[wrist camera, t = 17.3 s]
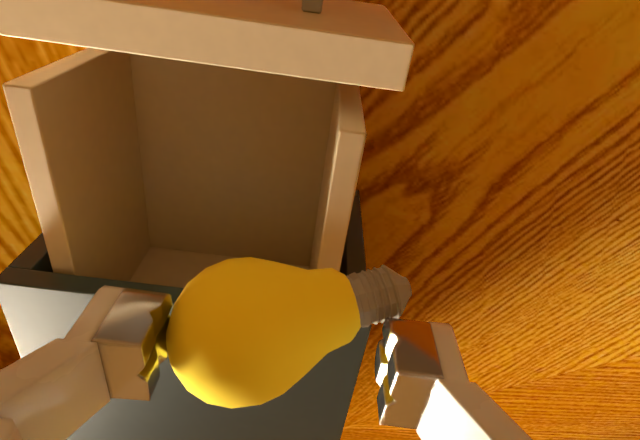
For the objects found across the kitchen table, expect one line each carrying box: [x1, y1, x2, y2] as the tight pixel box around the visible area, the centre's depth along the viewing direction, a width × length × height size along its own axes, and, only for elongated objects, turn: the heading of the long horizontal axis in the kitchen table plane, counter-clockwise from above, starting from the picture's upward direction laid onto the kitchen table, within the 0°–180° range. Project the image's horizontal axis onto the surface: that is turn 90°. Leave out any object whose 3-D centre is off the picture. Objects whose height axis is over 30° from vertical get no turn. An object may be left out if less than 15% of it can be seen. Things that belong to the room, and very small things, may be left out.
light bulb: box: [166, 257, 412, 409], centre depth 10 cm, size 3×6×4 cm, turn 97°
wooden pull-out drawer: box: [0, 0, 415, 288], centre depth 16 cm, size 18×11×8 cm, turn 173°
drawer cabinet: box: [0, 190, 371, 440], centre depth 22 cm, size 15×13×10 cm
